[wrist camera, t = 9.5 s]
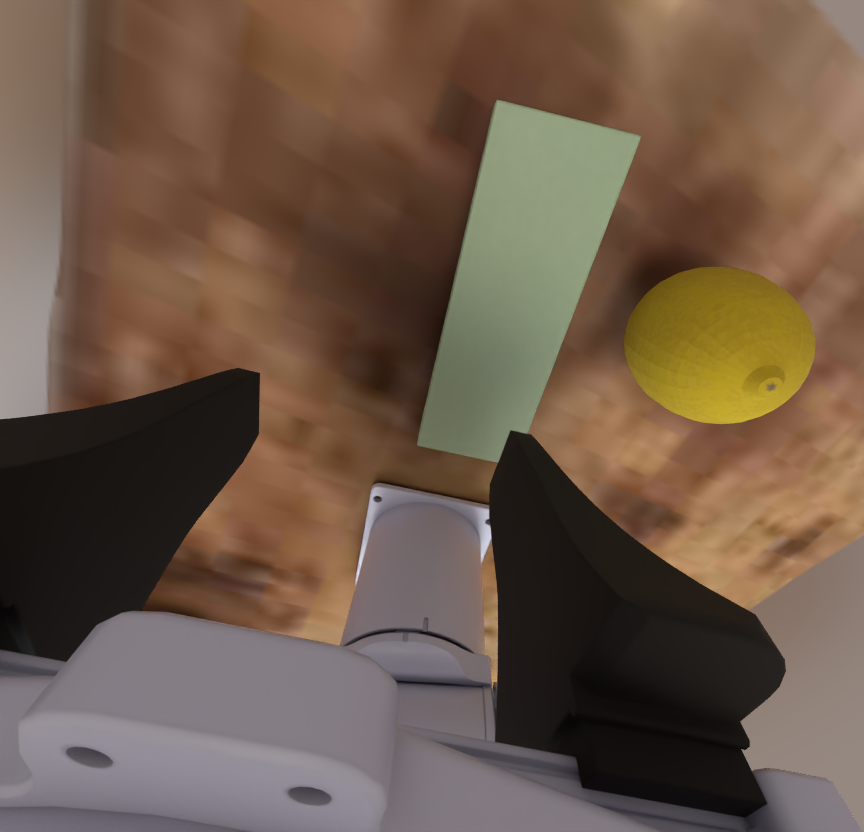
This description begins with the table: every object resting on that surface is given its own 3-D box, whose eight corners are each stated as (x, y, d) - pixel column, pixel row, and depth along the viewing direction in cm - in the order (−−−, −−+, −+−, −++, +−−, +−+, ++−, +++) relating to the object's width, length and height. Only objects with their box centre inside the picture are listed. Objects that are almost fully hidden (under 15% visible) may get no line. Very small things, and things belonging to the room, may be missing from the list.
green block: (509, 435, 24) (515, 467, 21) (421, 416, 23) (416, 446, 21) (614, 141, 17) (642, 135, 14) (491, 110, 16) (496, 98, 14)
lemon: (755, 283, 19) (926, 345, 12) (673, 385, 21) (773, 485, 14) (650, 229, 18) (767, 262, 11) (578, 342, 21) (636, 426, 14)
